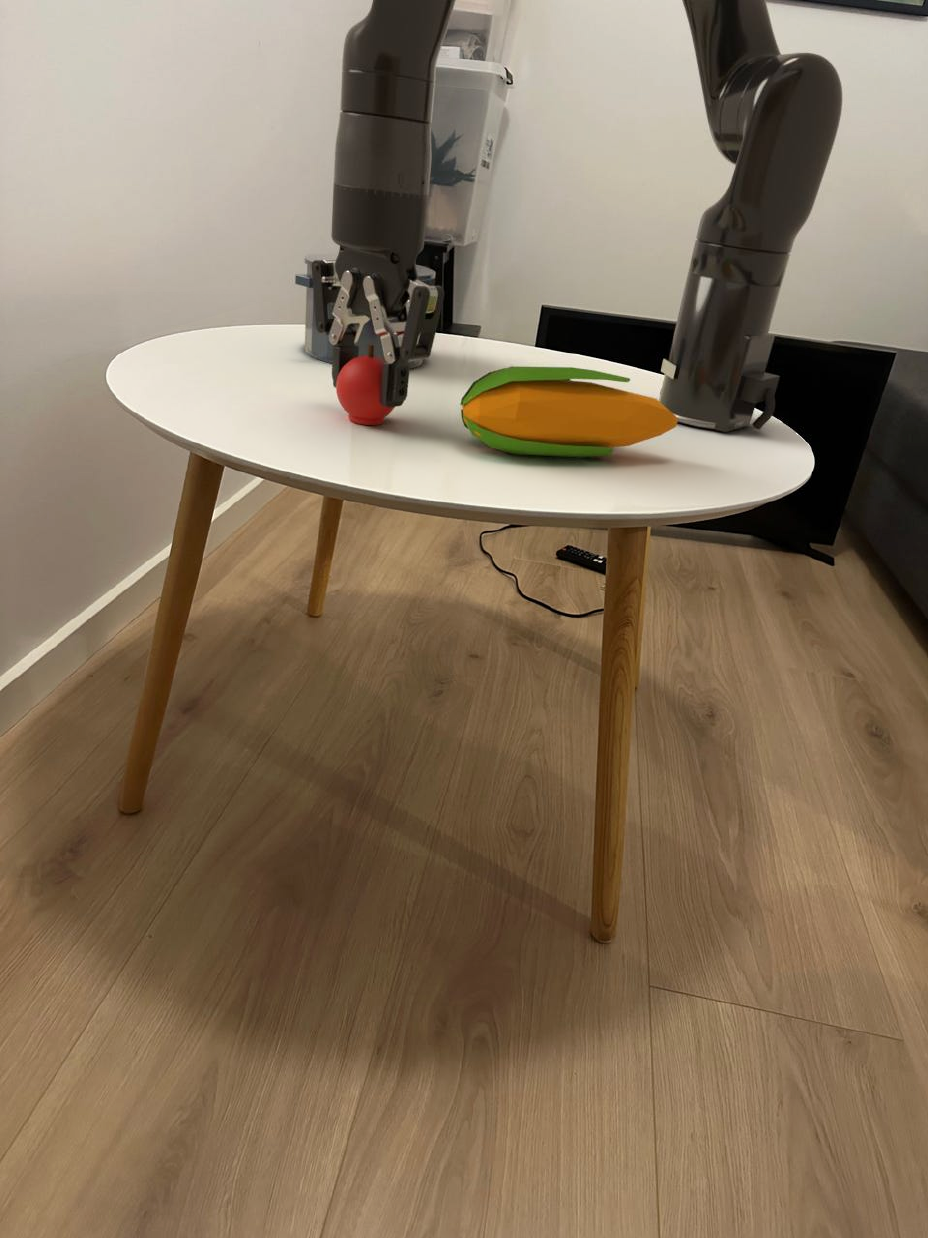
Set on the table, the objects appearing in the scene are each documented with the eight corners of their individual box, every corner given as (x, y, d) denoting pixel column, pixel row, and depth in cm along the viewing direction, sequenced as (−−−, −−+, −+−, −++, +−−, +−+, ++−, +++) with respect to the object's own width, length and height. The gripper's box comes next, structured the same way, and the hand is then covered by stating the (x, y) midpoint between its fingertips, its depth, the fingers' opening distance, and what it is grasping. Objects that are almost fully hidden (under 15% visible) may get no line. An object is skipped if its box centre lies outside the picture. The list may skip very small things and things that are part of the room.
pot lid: (461, 285, 97) (466, 236, 94) (365, 287, 87) (368, 232, 84) (373, 263, 105) (376, 218, 102) (276, 263, 95) (277, 212, 92)
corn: (456, 346, 72) (668, 360, 77) (444, 432, 76) (647, 440, 81) (479, 374, 66) (707, 387, 71) (466, 466, 70) (683, 472, 75)
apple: (410, 424, 77) (417, 349, 74) (364, 432, 73) (369, 353, 70) (368, 408, 80) (373, 335, 77) (321, 415, 76) (324, 339, 73)
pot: (461, 362, 103) (471, 279, 98) (340, 376, 90) (345, 280, 85) (383, 338, 110) (389, 259, 106) (261, 347, 97) (262, 257, 93)
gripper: (480, 198, 66) (455, 413, 74) (356, 177, 74) (345, 373, 82) (412, 192, 61) (393, 424, 69) (286, 170, 69) (282, 380, 77)
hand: (367, 395), depth 75 cm, fingers closed on apple, 5 cm apart
